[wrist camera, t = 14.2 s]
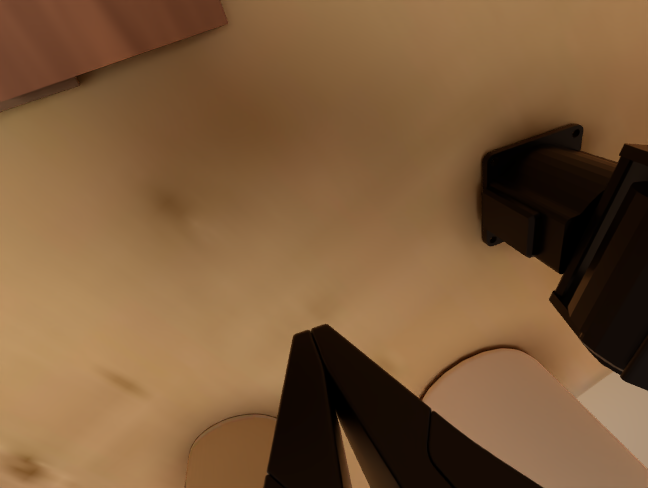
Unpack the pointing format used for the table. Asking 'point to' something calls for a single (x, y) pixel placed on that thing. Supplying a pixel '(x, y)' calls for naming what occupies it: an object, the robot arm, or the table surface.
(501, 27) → the table surface
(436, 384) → the white lidded jar
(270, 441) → the coffee cup
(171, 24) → the domino
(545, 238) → the robot arm
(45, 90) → the domino
